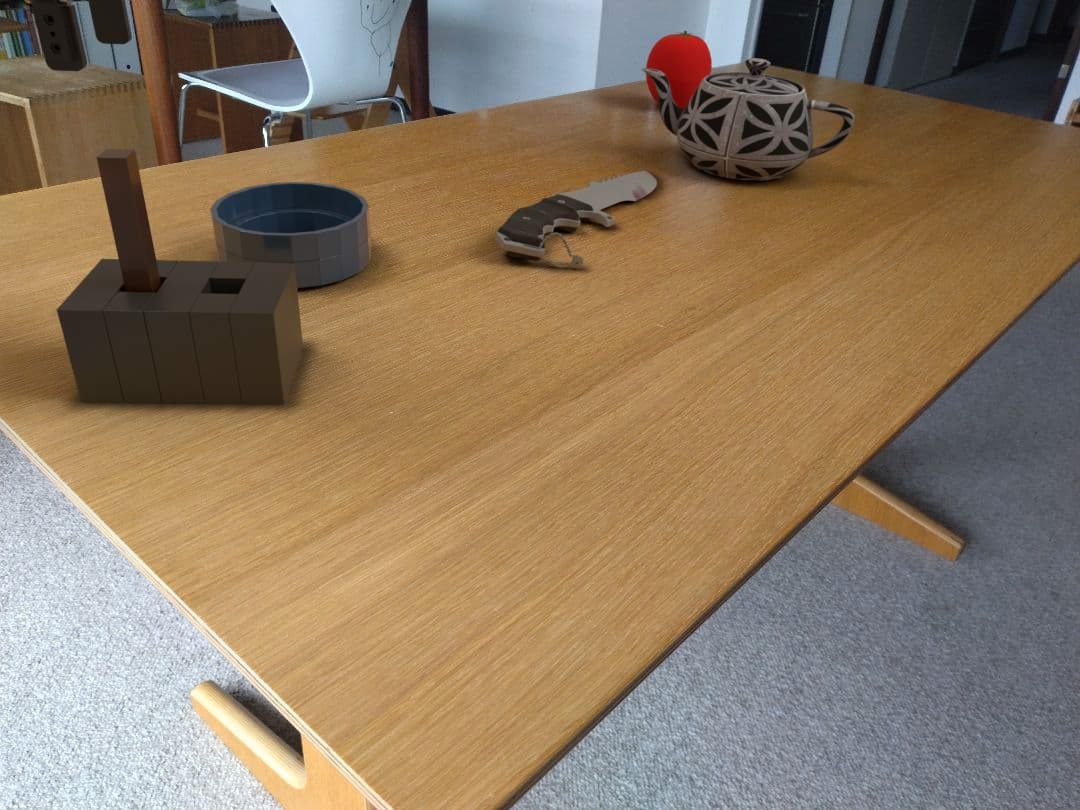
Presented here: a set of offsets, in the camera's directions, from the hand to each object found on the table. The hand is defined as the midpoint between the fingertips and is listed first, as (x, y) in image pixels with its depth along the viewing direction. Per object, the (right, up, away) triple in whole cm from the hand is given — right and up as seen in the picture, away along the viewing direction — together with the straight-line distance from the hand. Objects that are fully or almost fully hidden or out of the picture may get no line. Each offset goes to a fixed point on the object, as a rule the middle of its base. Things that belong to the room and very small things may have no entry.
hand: (93, 55), depth 58 cm
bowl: (+4, -8, +33) cm, 34 cm away
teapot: (+58, +11, +70) cm, 91 cm away
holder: (+2, -21, +13) cm, 25 cm away
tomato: (+53, +29, +97) cm, 115 cm away
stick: (-1, -21, +13) cm, 25 cm away
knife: (+35, 0, +49) cm, 61 cm away
